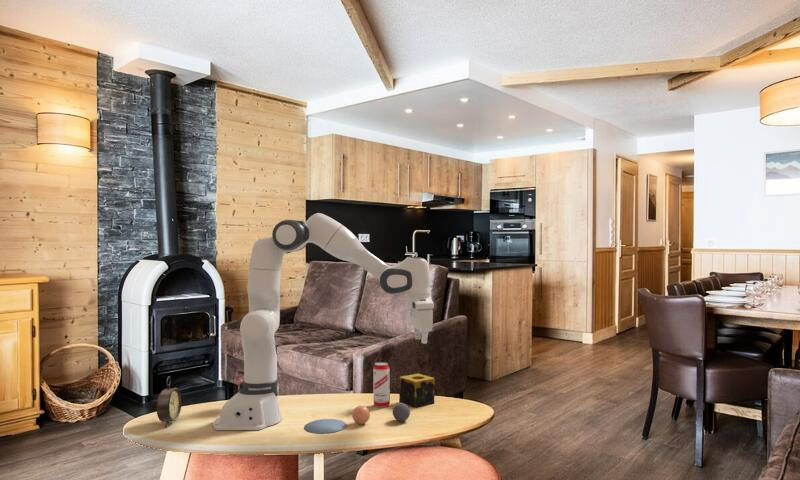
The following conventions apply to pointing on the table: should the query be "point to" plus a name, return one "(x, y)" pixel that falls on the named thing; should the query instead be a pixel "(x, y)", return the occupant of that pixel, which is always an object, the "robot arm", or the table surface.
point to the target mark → (325, 426)
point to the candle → (416, 390)
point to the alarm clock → (169, 404)
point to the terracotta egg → (361, 414)
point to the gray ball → (401, 412)
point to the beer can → (381, 385)
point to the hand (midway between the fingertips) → (421, 341)
